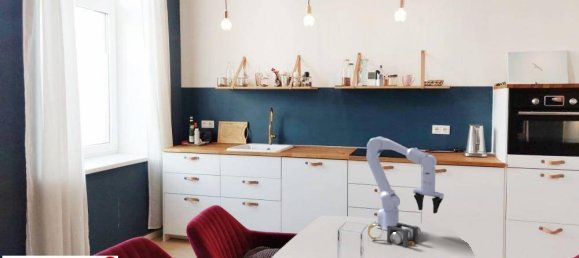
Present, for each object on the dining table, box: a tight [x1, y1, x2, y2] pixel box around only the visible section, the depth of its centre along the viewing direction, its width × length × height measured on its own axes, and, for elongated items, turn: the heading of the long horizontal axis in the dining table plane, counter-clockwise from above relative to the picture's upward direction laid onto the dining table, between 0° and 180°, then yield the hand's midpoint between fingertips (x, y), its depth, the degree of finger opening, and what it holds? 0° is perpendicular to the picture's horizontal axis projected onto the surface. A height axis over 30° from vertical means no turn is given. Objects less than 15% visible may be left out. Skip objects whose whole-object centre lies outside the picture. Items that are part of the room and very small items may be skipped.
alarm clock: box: [367, 221, 384, 241], centre depth 208 cm, size 7×3×8 cm, turn 91°
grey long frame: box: [390, 225, 422, 246], centre depth 207 cm, size 16×5×5 cm, turn 132°
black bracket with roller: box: [386, 222, 419, 248], centre depth 204 cm, size 10×8×7 cm
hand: (427, 211), depth 216 cm, fingers open, 7 cm apart
